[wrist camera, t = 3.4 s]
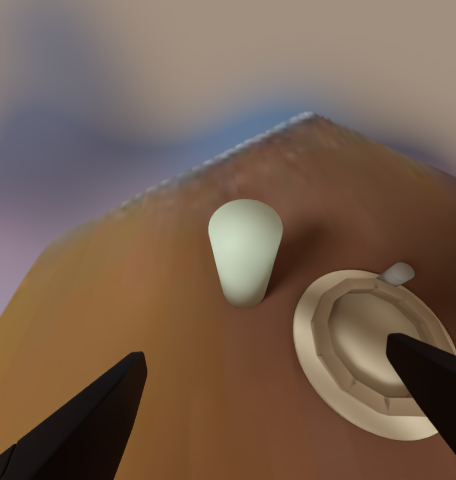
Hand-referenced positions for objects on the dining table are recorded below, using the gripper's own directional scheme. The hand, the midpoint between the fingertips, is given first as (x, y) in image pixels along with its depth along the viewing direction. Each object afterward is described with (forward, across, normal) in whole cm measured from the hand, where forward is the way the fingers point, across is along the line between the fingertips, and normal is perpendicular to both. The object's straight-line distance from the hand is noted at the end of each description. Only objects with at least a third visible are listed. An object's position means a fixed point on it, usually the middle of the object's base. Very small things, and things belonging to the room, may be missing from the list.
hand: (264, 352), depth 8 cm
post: (+14, 0, +4) cm, 15 cm away
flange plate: (+10, -11, +8) cm, 17 cm away
